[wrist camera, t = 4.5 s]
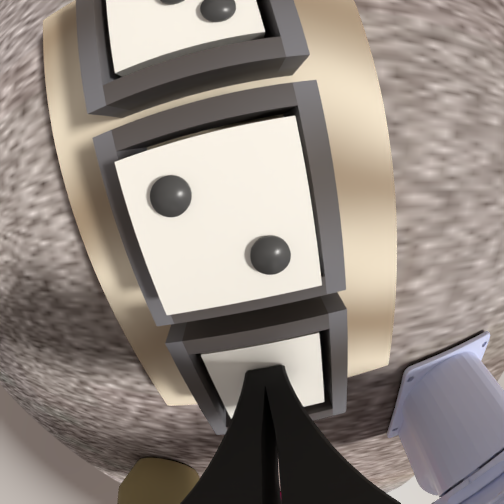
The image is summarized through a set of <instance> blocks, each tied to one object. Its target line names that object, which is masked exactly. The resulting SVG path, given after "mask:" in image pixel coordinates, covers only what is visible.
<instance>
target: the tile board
mask: <svg viewBox="0 0 504 504" xmlns="http://www.w3.org/2000/svg"><path fill="white" fill-rule="evenodd" d="M256 2H257V5H258V9H259V12H260V15H261V19H262V22H263V26H264V29H265V34H264V39H257V40H251V41H245V42H239V43H234V44H229V45H224V46H219V47H215V48H210V49H206V50H202V51H198V52H194V53H191V54H187V55H183V56H180V57H177V58H173V59H170V60H167V61H164V62H161V63H158V64H155V65H152V66H149V67H146V68H144V69H141V70H138V71H136V72H133V73H131V74H128V75H126V76H123V77H122V76H120V75H118V74H116V73H115V71H114V64H113V58H112V51H111V43H110V35H109V27H108V17H107V5H106V0H75V1H73V2H71V3H70V4H68V5H66V6H65V7H63V8H61V9H60V10H58V11H57V12H55V13H53V14H52V15H50V16H49V17H47V18H46V19H44V20H43V54H44V71H45V82H46V92H47V100H48V107H49V114H50V120H51V126H52V131H53V137H54V142H55V146H56V151H57V155H58V160H59V164H60V168H61V172H62V176H63V180H64V183H65V187H66V191H67V194H68V197H69V201H70V204H71V207H72V211H73V214H74V217H75V220H76V223H77V226H78V229H79V231H80V234H81V237H82V240H83V242H84V245H85V248H86V250H87V253H88V256H89V258H90V261H91V263H92V266H93V268H94V270H95V273H96V275H97V278H98V280H99V282H100V284H101V287H102V289H103V291H104V293H105V295H106V298H107V300H108V302H109V304H110V306H111V308H112V310H113V312H114V314H115V316H116V318H117V320H118V322H119V324H120V326H121V328H122V330H123V332H124V334H125V336H126V338H127V339H128V341H129V343H130V345H131V347H132V349H133V350H134V352H135V354H136V356H137V357H138V359H139V361H140V362H141V364H142V366H143V368H144V369H145V371H146V373H147V374H148V376H149V377H150V379H151V381H152V382H153V384H154V385H155V387H156V388H157V390H158V392H159V393H160V395H161V396H162V398H163V399H164V401H165V402H166V404H167V405H168V406H175V405H192V404H198V406H199V407H200V409H201V411H202V412H203V414H204V416H205V417H206V419H207V420H208V422H209V424H210V425H211V427H212V428H213V430H214V432H215V433H216V435H221V434H225V433H226V431H227V429H228V427H229V425H230V422H231V420H232V418H230V416H229V414H228V412H227V410H226V408H225V406H224V404H223V402H222V400H221V398H220V396H219V394H218V391H217V389H216V387H215V385H214V383H213V381H212V379H211V377H210V374H209V372H208V370H207V368H206V366H205V363H204V361H203V359H202V357H201V353H206V352H213V351H220V350H226V349H233V348H239V347H245V346H250V345H256V344H261V343H267V342H272V341H277V340H282V339H287V338H291V337H296V336H300V335H305V334H309V333H314V332H318V331H319V336H320V347H321V359H322V372H323V387H324V402H322V403H318V404H314V405H309V406H305V407H304V408H305V410H306V412H307V413H308V415H309V416H310V417H311V419H312V420H318V419H322V418H326V417H330V416H334V415H338V414H341V413H345V412H346V403H347V378H348V377H351V376H355V375H358V374H361V373H365V372H368V371H371V370H374V369H377V368H381V367H384V366H387V365H388V363H389V356H390V348H391V340H392V332H393V322H394V310H395V296H396V274H397V223H396V201H395V187H394V175H393V165H392V157H391V149H390V141H389V134H388V128H387V122H386V116H385V110H384V105H383V100H382V95H381V90H380V86H379V82H378V77H377V73H376V69H375V65H374V61H373V58H372V54H371V50H370V47H369V43H368V40H367V37H366V34H365V30H364V27H363V24H362V21H361V18H360V15H359V13H358V10H357V7H356V4H355V2H354V0H256ZM289 116H295V117H296V122H297V127H298V131H299V136H300V142H301V147H302V152H303V157H304V163H305V168H306V174H307V180H308V186H309V192H310V198H311V205H312V211H313V218H314V225H315V232H316V239H317V247H318V255H319V263H320V272H321V281H322V285H321V286H317V287H312V288H308V289H303V290H299V291H294V292H289V293H285V294H280V295H275V296H270V297H266V298H261V299H256V300H251V301H245V302H240V303H235V304H230V305H224V306H219V307H213V308H208V309H202V310H196V311H190V312H184V313H178V314H172V315H166V312H165V310H164V308H163V305H162V303H161V300H160V298H159V296H158V293H157V291H156V288H155V286H154V283H153V280H152V278H151V275H150V273H149V270H148V267H147V265H146V262H145V259H144V256H143V254H142V251H141V248H140V245H139V242H138V239H137V236H136V233H135V230H134V227H133V224H132V221H131V218H130V215H129V212H128V208H127V205H126V202H125V199H124V195H123V192H122V188H121V185H120V181H119V177H118V174H117V170H116V166H115V162H116V161H119V160H121V159H124V158H127V157H130V156H133V155H135V154H138V153H141V152H144V151H147V150H150V149H153V148H157V147H160V146H163V145H166V144H170V143H173V142H176V141H180V140H183V139H187V138H191V137H194V136H198V135H202V134H206V133H210V132H214V131H218V130H222V129H227V128H231V127H236V126H240V125H245V124H250V123H255V122H260V121H266V120H271V119H277V118H283V117H289Z"/></svg>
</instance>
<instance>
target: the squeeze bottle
mask: <svg viewBox="0 0 504 504" xmlns="http://www.w3.org/2000/svg"><path fill="white" fill-rule="evenodd" d="M199 479H200V478H199V475H198V473H197V472H196V471H195V470H194V469H192V468H190V467H188V466H186V465H184V464H181V463H178V462H175V461H171V460H166V459H161V458H142V459H140V460H139V461H137V463H136V464H135V465H134V467H133V468H132V470H131V471H130V472H129V474H128V475H127V476H126V478H125V479H124V481H123V482H122V483H121V485H120V486H119V492H118V504H180V503H181V502H182V501H183V499H184V498H185V497H186V496H187V495H188V494H189V492H190V491H191V490H192V489H193V487H194V486H195V485H196V483H197V482H198V481H199Z"/></svg>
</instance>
